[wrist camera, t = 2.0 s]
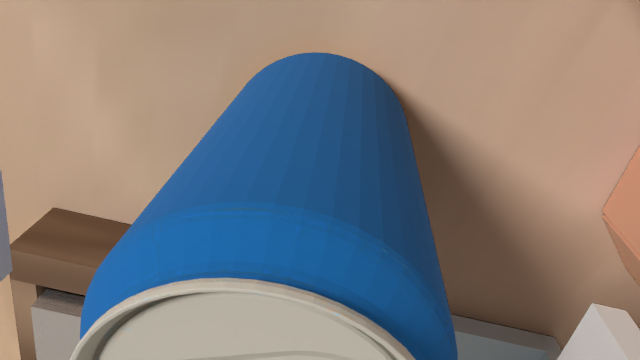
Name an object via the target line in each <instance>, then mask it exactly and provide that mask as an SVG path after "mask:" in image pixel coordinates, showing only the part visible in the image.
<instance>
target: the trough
mask: <svg viewBox="0 0 640 360" xmlns="http://www.w3.org/2000/svg"><path fill="white" fill-rule="evenodd" d="M451 319H452V323H453V327H454V332H455V338H456V344H457V351H458V360H557V359H558V357H559V356H560V354H561V352H562V351H561V349H560V346H559V344H558V342H557V340H556V338H555V337H551V336H546V335H542V334H537V333H533V332H528V331H524V330H519V329H515V328H510V327H506V326H501V325H497V324H492V323H488V322H483V321H479V320H474V319H470V318H465V317H461V316H456V315H452V314H451Z"/></svg>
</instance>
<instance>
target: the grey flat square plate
mask: <svg viewBox="0 0 640 360" xmlns="http://www.w3.org/2000/svg"><path fill="white" fill-rule="evenodd" d="M84 301H85V297H81V296H77V295H72V294H67V293H63V292H58V291H54V290H49V289H46V290H45V291H44V292H43V294H42V295H41V296H40V297H39V298H38V299H37V300H36V301H35V302H34V303H33V304H32V306H31V314H32V323H33V332H34V341H35V349H36V358H37V360H70V358H71V356H72V354H73V352H74V350H75V348H76V346H77V345H78V343H79V342H80V324H81V314H82V309H83V305H84Z"/></svg>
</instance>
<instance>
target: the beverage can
mask: <svg viewBox="0 0 640 360" xmlns="http://www.w3.org/2000/svg"><path fill="white" fill-rule="evenodd" d="M70 360H458V351H457V344H456V338H455V332H454V327H453V323H452V319H451V314H450V310H449V305H448V301H447V296H446V292H445V288H444V283H443V279H442V274H441V270H440V266H439V261H438V257H437V252H436V248H435V243H434V239H433V235H432V230H431V226H430V221H429V217H428V213H427V208H426V204H425V199H424V195H423V190H422V186H421V182H420V177H419V173H418V168H417V164H416V159H415V155H414V151H413V146H412V142H411V137H410V133H409V129H408V124H407V120H406V117H405V114H404V111H403V108H402V106H401V104H400V102H399V100H398V98H397V97H396V95H395V94H394V92H393V91H392V89H391V88H390V87H389V86H388V85H387V84H386V82H385V81H384V80H383V79H382V78H380V77H379V76H378V75H377V74H376V73H375V72H373V71H372V70H370V69H369V68H367V67H366V66H364V65H362V64H360V63H358V62H356V61H354V60H352V59H349V58H346V57H343V56H339V55H334V54H329V53H303V54H297V55H293V56H289V57H286V58H283V59H281V60H278V61H276V62H274V63H272V64H270V65H269V66H267V67H265V68H264V69H263V70H261V71H260V72H259V73H257V74H256V75H255V76H254V77H253V78H252V79H251V80H250V81H249V82H248V83H247V84H246V86H245V87H244V88H243V89H242V91H241V92H240V93H239V94H238V95H237V97H236V98H235V99H234V100H233V102H232V103H231V104H230V105H229V107H228V108H227V109H226V110H225V111H224V113H223V114H222V115H221V116H220V118H219V119H218V120H217V121H216V122H215V124H214V125H213V126H212V127H211V129H210V130H209V131H208V132H207V133H206V135H205V136H204V137H203V138H202V140H201V141H200V142H199V143H198V145H197V146H196V147H195V148H194V149H193V151H192V152H191V153H190V154H189V156H188V157H187V158H186V159H185V160H184V162H183V163H182V164H181V165H180V167H179V168H178V169H177V170H176V171H175V173H174V174H173V175H172V176H171V178H170V179H169V180H168V181H167V183H166V184H165V185H164V186H163V187H162V189H161V190H160V191H159V192H158V194H157V195H156V196H155V197H154V198H153V200H152V201H151V202H150V203H149V205H148V206H147V207H146V208H145V209H144V211H143V212H142V213H141V214H140V216H139V217H138V218H137V219H136V221H135V222H134V223H133V224H132V225H131V227H130V228H129V229H128V230H127V232H126V233H125V234H124V235H123V236H122V238H121V239H120V240H119V241H118V243H117V244H116V245H115V246H114V247H113V249H112V250H111V251H110V252H109V254H108V255H107V256H106V258H105V259H104V260H103V262H102V263H101V265H100V266H99V267H98V269H97V270H96V273H95V275H94V277H93V279H92V281H91V283H90V285H89V288H88V290H87V293H86V297H85V301H84V305H83V309H82V314H81V324H80V342H79V343H78V345H77V346H76V348H75V350H74V352H73V354H72V356H71V358H70Z"/></svg>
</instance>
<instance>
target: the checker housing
mask: <svg viewBox="0 0 640 360" xmlns="http://www.w3.org/2000/svg"><path fill="white" fill-rule="evenodd" d="M130 227H131V225H129V224H125V223H120V222H116V221H111V220H107V219H102V218H98V217H93V216H89V215H84V214H80V213H75V212H71V211H66V210H62V209H57V208H52V209H51V210H50V211H49V212H48V213H47V214H45V215H44V216H43V217H42V218H41V219H40V220H38V221H37V222H36V223H35V224H34V225H33V226H32V227H30V228H29V229H28V230H27V231H26V232H25V233H23V234H22V235H21V236H20V237H19V238H18V239H16V240H15V241H14V242H13V243H12V244H11V245H10V252H11V260H12V269H13V271H11V272H10V273H9V274H10V282H11V289H12V296H13V304H14V311H15V318H16V326H17V333H18V340H19V348H20V355H21V360H37V358H36V349H35V341H34V332H33V323H32V314H31V306H32V304H33V303H34V302H35V301H36V300H37V299H38V298H39V297H40V296H41V295H42V294H43V292H44V291H45V290H46V289H49V290H54V291H58V292H63V293H67V294H72V295H77V296H80V295H85V296H86V293H87V290H88V288H89V285H90V283H91V281H92V279H93V277H94V275H95V273H96V270H97V269H98V267H99V266H100V265H101V263H102V262H103V260H104V259H105V258H106V256H107V255H108V254H109V252H110V251H111V250H112V249H113V247H114V246H115V245H116V244H117V243H118V241H119V240H120V239H121V238H122V236H123V235H124V234H125V233H126V232H127V230H128V229H129V228H130Z"/></svg>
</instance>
